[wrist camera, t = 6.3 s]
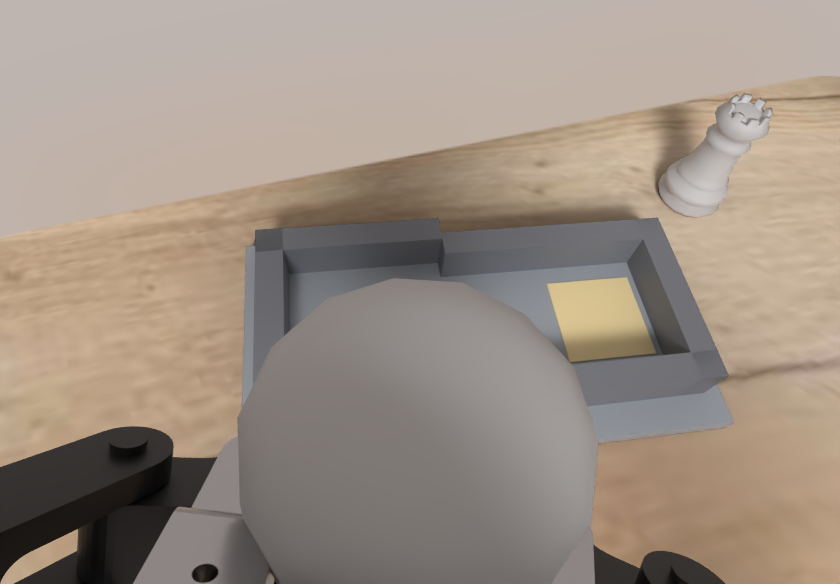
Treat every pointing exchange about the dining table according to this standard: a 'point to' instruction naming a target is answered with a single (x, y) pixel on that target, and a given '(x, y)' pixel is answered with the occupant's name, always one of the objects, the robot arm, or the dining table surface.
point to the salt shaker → (416, 443)
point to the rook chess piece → (714, 158)
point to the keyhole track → (521, 304)
